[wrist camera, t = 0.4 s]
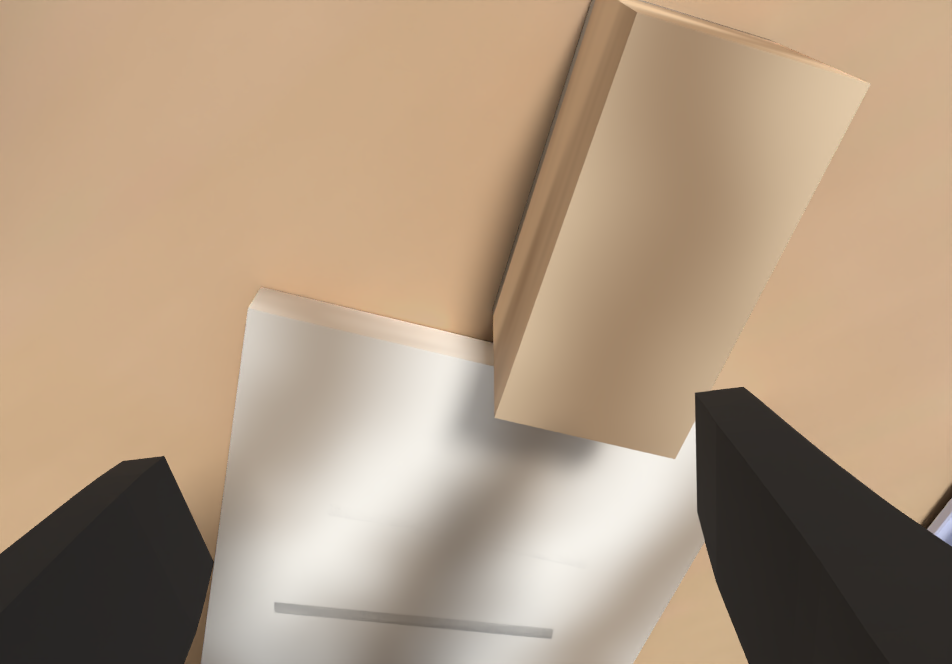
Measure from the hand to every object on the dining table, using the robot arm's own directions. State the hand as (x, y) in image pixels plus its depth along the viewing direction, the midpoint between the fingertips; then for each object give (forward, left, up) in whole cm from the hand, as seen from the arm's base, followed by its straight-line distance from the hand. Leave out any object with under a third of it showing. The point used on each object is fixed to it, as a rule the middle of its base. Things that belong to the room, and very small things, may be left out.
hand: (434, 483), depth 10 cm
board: (-2, +12, -10) cm, 15 cm away
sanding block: (-3, -2, -10) cm, 10 cm away
